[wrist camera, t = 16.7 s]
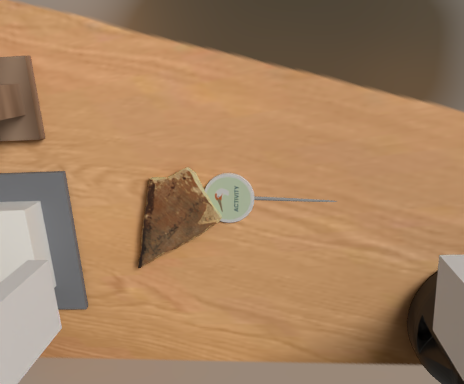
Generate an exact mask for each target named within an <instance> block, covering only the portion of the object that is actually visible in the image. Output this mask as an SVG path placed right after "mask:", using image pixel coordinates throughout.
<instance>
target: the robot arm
mask: <svg viewBox="0 0 464 384" xmlns="http://www.w3.org/2000/svg"><path fill="white" fill-rule="evenodd" d="M61 328H62V326H61V321H60V316H59V311H58V306H57V301H56V296H55V290H54V285H53V280H52V275H51V270H50V265H49V260H27V261H26V262H25V263H24V264H22V265H21V266H20V267H19V268H17V269H16V270H15V271H14V272H13V273H11V274H10V275H9V276H8V277H6V278H5V279H4V280H3V281H1V282H0V384H18V383H19V381H20V380H21V379H22V378H23V376H24V375H25V374H26V373H27V371H28V370H29V369H30V367H31V366H32V365H33V364H34V362H35V361H36V360H37V359H38V357H39V356H40V355H41V354H42V352H43V351H44V350H45V349H46V347H47V346H48V345H49V344H50V342H51V341H52V340H53V339H54V337H55V336H56V335H57V333H58V332H59V331H60V330H61ZM407 328H408V335H409V339H410V342H411V344H412V346H413V348H414V350H415V352H416V354H417V356H418V358H419V360H420V362H421V363H422V365H423V366H424V367H425V368H426V369H427V371H428V372H429V373H430V374H431V375H432V376H433V377H435V379H437V380H438V381H439V382H440V383H441V384H464V255H439V264H438V272H437V273H435V274H434V275H433V276H432V277H430V278H429V279H428V280H427V281H426V282H425V283H424V284H423V285H422V287H421V288H420V289H419V291H418V292H417V294H416V295H415V297H414V299H413V301H412V303H411V306H410V309H409V313H408V320H407Z"/></svg>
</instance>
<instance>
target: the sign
mask: <svg viewBox="0 0 464 384" xmlns="http://www.w3.org/2000/svg"><path fill="white" fill-rule="evenodd" d="M204 191H205V193H206V194H207V195H208V197H209V198H210V200H211V202H212V203H213V205H214V207H215V208H216V209H217V211H218V212H219V213H220V215H221V216H222V219H221V220H220V221H222V222H227V223H231V222H237V221H240V220H242V219H243V218H245V217H246V216H247V215H248V214H249V213H250V211H251V210H252V208H253V205H254V200H274V201H312V202H337V201H329V200H314V199H295V198H275V197H254V192H253V189H252V187H251V185H250V183H249V182H248V181H247V180H246V179H245V178H243V177H242V176H240V175H237V174H234V173H223V174H220V175H217V176H215V177H214V178H212V179H211V180H210V181H209V183H208V184H207V186H206V188H205V190H204Z"/></svg>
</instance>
